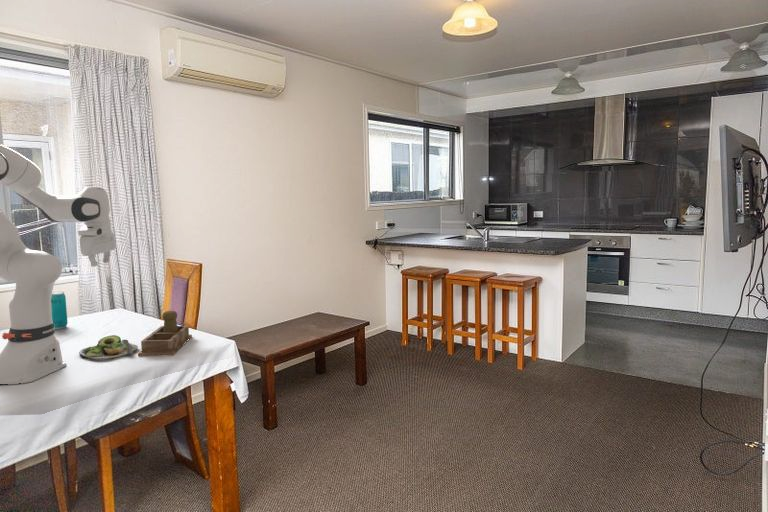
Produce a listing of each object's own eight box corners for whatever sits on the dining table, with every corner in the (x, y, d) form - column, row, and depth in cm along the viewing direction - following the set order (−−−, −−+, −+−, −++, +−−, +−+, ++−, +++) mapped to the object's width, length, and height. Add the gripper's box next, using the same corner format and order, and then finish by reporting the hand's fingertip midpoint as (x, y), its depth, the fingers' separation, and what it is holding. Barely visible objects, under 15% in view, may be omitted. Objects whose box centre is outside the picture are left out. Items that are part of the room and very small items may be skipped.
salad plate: (152, 351, 181) (152, 339, 180) (104, 366, 166) (103, 353, 165) (121, 342, 191) (120, 331, 190) (72, 355, 175) (71, 343, 175)
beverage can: (52, 326, 210) (49, 292, 208) (68, 325, 212) (66, 291, 210) (50, 330, 205) (47, 294, 203) (66, 328, 207) (63, 293, 205)
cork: (173, 341, 187) (172, 313, 185) (159, 341, 188) (157, 312, 186) (182, 337, 193) (181, 309, 191) (168, 336, 194) (167, 309, 192)
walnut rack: (173, 355, 176) (172, 341, 175) (138, 356, 175) (137, 342, 174) (192, 336, 197) (191, 324, 197) (160, 337, 196) (160, 325, 196)
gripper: (102, 227, 203) (105, 260, 204) (75, 231, 182) (78, 268, 184) (118, 227, 203) (120, 260, 205) (93, 231, 183) (95, 268, 185)
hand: (100, 264), depth 194 cm, fingers open, 8 cm apart
